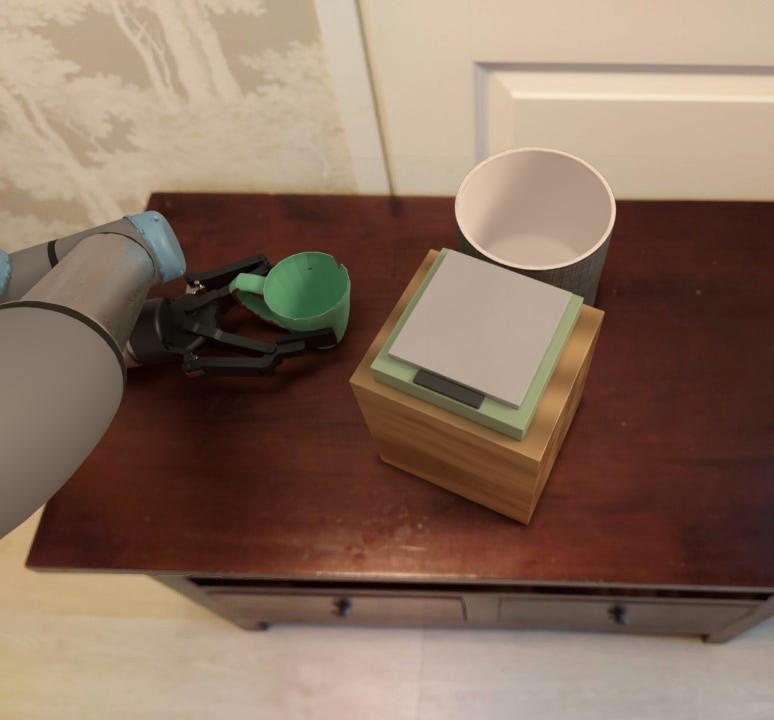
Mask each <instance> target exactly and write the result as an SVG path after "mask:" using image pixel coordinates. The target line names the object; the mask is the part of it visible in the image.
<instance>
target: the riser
mask: <svg viewBox="0 0 774 720" xmlns="http://www.w3.org/2000/svg"><path fill="white" fill-rule="evenodd" d="M440 252H441V251H438V250H435V249H433V248H430V249H429V251H428V253H427V254H426V256H425V257H424V258H423V261H422V262H421V264H420V265H419V267H418V269H417V270H416V272H415V274H414V275H413V277H412V279H410V282H409V283H408V285H407V286H406V287H405V290H404V291H403V293H402V294H401V296H400V298H399V299H398V301H397V302H396V304H395V306H394V307H393V309H392V311H391V312H390V314H389V316H388V317H387V319H386V320H385V322H384V324H383V325H382V327H381V328H380V330H379V331H378V333H377V335H376V336H375V338H374V339H373V342H372V343H371V344H370V346H369V348H368V349H367V351H366V353H365V355H364V356H363V358H362V359H361V361H360V362H359V364H358V366H357V367H356V369H355V370H354V372H353V374H352V376H350V379H349V381H348V383H349V385H350V387H351V390H352V392H353V394H354V397H355V399H356V402H357V404H358V407H359V409H360V411H361V414H362V416H363V418H364V421H365V423H366V426H367V428H368V430H369V433H370V436H371V438H372V440H373V443H374V445H375V447H376V450H377V452H378V454H379V457H380V459H381V462H384V463H386V464H389V465H390V466H393V467H395V468H397V469H400V470H402V471H405V472H406V473H409V474H411V475H413V476H416V477H418V478H420V479H422V480H424V481H427V482H429V483H431V484H433V485H436V486H438V487H440V488H442V489H444V490H447V491H449V492H451V493H454V494H456V495H458V496H460V497H462V498H465V499H467V500H469V501H471V502H473V503H476V504H478V505H481V506H482V507H485V508H487V509H490V510H492V511H494V512H496V513H499V514H501V515H503V516H505V517H508V518H510V519H511V520H514V521H517V522H518V523H521V524H523V525H525V526H528V525H529V523H530V521H531V518H532V516H533V514H534V511H535V509H536V506H537V504H538V502H539V500H540V497H541V494H542V492H543V490H544V488H545V486H546V483H547V482H548V481H547V480H548V478H549V476H550V474H551V471H552V469H553V466H554V464H555V462H556V459H557V457H558V454H559V452H560V450H561V448H562V445H563V443H564V440H565V438H566V435H567V433H568V431H569V429H570V426H571V424H572V421H573V419H574V417H575V415H576V412H577V410H578V408H579V405H580V401H581V398H582V395H583V391H584V387H585V385H586V380H587V377H588V374H589V369H590V367H591V364H592V359H593V355H594V352H595V349H596V345H597V341H598V338H599V335H600V332H601V331H600V330H601V328H602V323H603V320H604V317H605V314H606V313H605V311H604V310H601V309H599V308H596V307H594V306H593V307H590V306H588V305H585V304H582V309H581V313H580V315H579V317H578V319H577V322H576V324H575V326H574V328H573V330H572V333H571V335H570V337H569V339H568V341H567V344H566V346H565V348H564V350H563V352H562V355H561V357H560V359H559V361H558V363H557V366H556V368H555V370H554V372H553V374H552V377H551V379H550V381H549V383H548V385H547V388H546V390H545V392H544V394H543V396H542V399H541V401H540V403H539V405H538V407H537V409H536V412H535V414H534V416H533V418H532V420H531V423H530V425H529V427H528V429H527V431H526V434H525V436H524V438H523V440H522V441H519V440H517V439H515V438H512V437H510V436H507V435H505V434H503V433H500V432H498V431H495V430H493V429H491V428H488V427H486V426H483V425H481V424H479V423H476V422H474V421H471V420H469V419H467V418H464V417H462V416H459V415H457V414H455V413H452V412H450V411H447V410H445V409H443V408H440V407H438V406H436V405H433V404H431V403H428V402H426V401H424V400H421V399H419V398H416V397H414V396H412V395H409V394H407V393H404V392H402V391H400V390H397V389H395V388H392V387H390V386H388V385H385V384H383V383H380V382H378V381H376V380H374V377H373V374H372V372H371V369H370V367H371V365H372V363H373V362H374V360H375V358H376V357H377V355H378V353H379V352H380V350H381V348H382V347H383V345H384V344H385V342H386V340H387V339H388V337H389V335H390V334H391V332H392V330H393V329H394V327H395V325H396V324H397V322H398V321H399V319H400V317H401V316H402V314H403V312H404V311H405V309H406V307H407V306H408V304H409V302H410V301H411V299H412V298H413V296H414V294H415V293H416V291H417V289H418V288H419V286H420V284H421V283H422V281H423V279H424V278H425V276H426V275H427V273H428V271H429V270H430V268H431V266H432V265H433V263H434V261H435V260H436V258H437V256H438V255H439V253H440Z"/></svg>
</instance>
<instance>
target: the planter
mask: <svg viewBox="0 0 774 720" xmlns="http://www.w3.org/2000/svg"><path fill="white" fill-rule="evenodd" d="M454 198H455V199H454V219H455V231H456V245H457V252H459V253H462V254H465V255H468V256H471V257H473V258H476V259H479V260H482V261H484V262H487V263H490V264H493V265H496V266H498V267H501V268H504V269H507V270H510V271H512V272H515V273H518V274H521V275H523V276H526V277H529V278H532V279H535V280H537V281H540V282H543V283H546V284H549V285H551V286H554V287H557V288H560V289H562V290H565V291H568V292H571V293H572V294H574V295H577V296H580V297H583V298H584V300H583V304H585V305H588V306H590V307H593V308H594V305H595V302H596V297H597V292H598V287H599V284H600V280H601V276H602V273H603V269H604V265H605V261H606V259H607V253H608V249H609V246H610V242H611V239H612V236H613V235H612V234H613V230H614V227H615V222H616V217H617V204H616V203H617V202H616V199H615V195H614V192H613V190H612V188H611V186H610V184H609V183H608V181H607V180H606V178H605V177H604V176H603V175H602V174H601V172H599V171H598V169H596V168H595V167H594V166H593V165H591V164H590V163H589V162H587V161H586V160H584V159H582V158H580V157H578V156H576V155H574V154H571V153H569V152H566V151H562V150H559V149H554V148H548V147H539V146H528V147H527V146H526V147H518V148H511V149H507V150H504V151H501V152H497V153H496V154H493V155H491V156H489V157H487V158H485V159H484V160H482V161H480V162H479V163H477V164H476V165H475V166H473V167H472V169H470V171H468V172H467V174H466V175H465V176H464V177H463V179H462V180H461V182H460V184H459V186H458V188H457V190H456V195H455V197H454Z"/></svg>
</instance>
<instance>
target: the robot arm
mask: <svg viewBox="0 0 774 720" xmlns="http://www.w3.org/2000/svg"><path fill="white" fill-rule="evenodd" d="M276 265H277V264H272V263H271V262H270V261H269V260H268V257H267V256H266V254H265V253H263V252H260V253H257V254H254V255H250V256H248V257H244V258H241V259H238V260H235V261H233V262H230V263H227V264H224V265H221V266H218V267H215V268H212V269H209V270H205V271H202V272H199V271H198V272H188V273H186V270H187V264H186V259H185V255H184V252H183V250H182V247H181V244H180V242H179V239H178V237H177V236H176V234H175V232H174V230H173V228H172V226H171V225H170V223H169V221H168V220H167V219H166V218H165V216H163V214H162V213H160V212H158V211H155V210H146V211H143V212H140V213H136V214H133V215H129V214H127V215H124V216H122V218H119V219H116V220H113V221H110V222H107V223H103V224H101V225H98V226H95V227H92V228H88V229H86V230H83V231H82V230H81V231H79V232H77V233H74V234H73V233H72V234H71V235H67V236H64V237H62V238H61V237H60V238H56V239H52V240H48V241H46V242H42V243H39V244H37V245H36V244H35V245H33V246H30V247H27V248H23V249H20V250H16V251H14V252H11V253H7V252H6V251H5V250H3V249H2V248H0V541H1V540H2V539H3V538H6V536H8V535H9V534H11V533H12V532H13V531H14V530H16V529H17V528H18V527H19V526H21V525H23V523H25V522H26V521H27V520H29V518H31V517H32V516H33V515H34V514H35V513H36V512H37V511H39V509H41V508H42V507H43V506H44V505H46V503H48V502H49V501H50V500H51V499H52V497H54V496H55V495H56V494H57V492H59V490H60V489H61V488H62V487H63V486H64V485H65V484H66V483H67V482H68V481H69V480H70V479H71V477H73V475H74V474H75V473H76V472H77V470H78V469H79V468H80V467H81V465H82V464H83V463H84V462H85V461H86V459H87V458H88V457H89V456H90V455H91V453H92V452H93V451H94V450H95V448H96V446H97V445H98V444H99V442H100V441H101V440H102V438H103V437H104V435H105V433H106V432H107V431H108V429H109V427H110V425H111V424H112V421H113V419H115V416H116V414H117V412H118V410H119V407H120V405H121V401H122V399H123V397H124V394H125V391H126V387H127V386H126V385H127V381H128V379H127V378H128V377H127V376H128V369H132V368H133V369H134V368H138V367H142V366H143V365H146V366H152V365H158V364H164V363H165V364H166V363H170V362H175V361H177V360H179V359H183V362H182V363H181V365H180V368H181V370H182V371H183V372H184V374H185V375H186V376H187V377H188V378H189V379H190V380H191V381H192V382H193V381H198V380H203V379H205V378H209V377H224V378H225V377H227V378H229V377H230V378H231V377H232V378H273V377H275V376H276V374H277V370H276V369H277V367H279V366H281V365H283V363H284V360H288V359H293V358H299V357H305V356H306V355H308V354H309V350H313V349H314V350H315V349H318V348H320V347H326V346H332V345H335V346H337V345H338V344H339V343H338V342H337V337H336V335H335V332H334V330H333V327H329V328H323V329H318V330H314V331H305V332H300V333H294V334H293V333H289V334H282V335H276V336H275V337H274V342H275V344H274V343H271V342H267V341H263V340H259V339H256V338H251V337H247V336H243V335H238V334H234V333H230V332H227V331H223V330H222V327H221V324H222V321H223V316H224V315H226V314H228V313H229V312H230V309H231V308H233V307H234V306H236V305H239V304H238V303H237V302H236V300H235V299H234V298H233V296H232V295H231V293H230V290H229V288H230V284H231V282H232V281H233V280H234V279H235V278H236V277H237V276H238V275H239V274H240V273H245V274H253V275H258V276H263V277H267V275H268V274H269V272H270V271H271V269H272V268H274V267H275V266H276ZM308 269H310V270H311V269H312V268H308ZM185 273H186V274H185ZM184 274H185V275H184ZM183 275H184V276H183ZM182 276H183V279H184V281H185V282H186V289H185V293H183V294H181V295H180V296H178V297H175V298H167V297H155V298H149V299H148V295H149V293H150V290H151V289H152V288H154V287H156V286H159V285H160V286H163V285H166V284H167V283H168V282H170V281H173V280H175V279H178V278H180V277H182ZM248 293H252V292H248ZM252 294H254V295H255V294H256V293H252ZM200 295H201V296H200ZM215 302H216V303H217V305H216V304H215ZM208 349H209V350H213V351H218V352H221V353H225V352H228V353H232V354H237V355H239V356H244V357H239V356H238V357H237V356H236V357H234V356H233V357H231V356H200V355H201V354H203V353H204V352H205V351H206V350H208Z"/></svg>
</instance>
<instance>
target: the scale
mask: <svg viewBox="0 0 774 720" xmlns="http://www.w3.org/2000/svg"><path fill="white" fill-rule="evenodd" d="M439 252H440V253H439V255H438V256H437V258H436V260H435V261H434V263H433V265H432V266H431V268H430V270H429V271H428V273H427V275H426V276H425V278H424V279H423V281H422V283H421V284H420V286H419V288H418V289H417V291H416V293H415V294H414V296H413V298H412V299H411V301H410V302H409V304H408V306H407V307H406V309H405V311H404V312H403V314H402V316H401V317H400V319H399V321H398V322H397V324H396V325H395V327H394V329H393V330H392V332H391V334H390V335H389V337H388V339H387V340H386V342H385V344H384V345H383V347H382V348H381V350H380V352H379V353H378V355H377V357H376V358H375V360H374V362H373V363H372V365H371V367H370V369H371V372H372V374H373V377H374V380H376V381H378V382H380V383H383V384H385V385H388V386H390V387H392V388H395V389H397V390H400V391H402V392H404V393H407V394H409V395H412V396H414V397H416V398H419V399H421V400H424V401H426V402H428V403H431V404H433V405H436V406H438V407H440V408H443V409H445V410H447V411H450V412H452V413H455V414H457V415H459V416H462V417H464V418H467V419H469V420H471V421H474V422H476V423H479V424H481V425H483V426H486V427H488V428H491V429H493V430H495V431H498V432H500V433H503V434H505V435H507V436H510V437H512V438H515V439H517V440H519V441H522V440H523V438H524V436H525V434H526V431H527V429H528V427H529V425H530V423H531V420H532V418H533V416H534V414H535V412H536V409H537V407H538V405H539V403H540V401H541V399H542V396H543V394H544V392H545V390H546V388H547V385H548V383H549V381H550V379H551V377H552V374H553V372H554V370H555V368H556V366H557V363H558V361H559V359H560V357H561V355H562V352H563V350H564V348H565V346H566V344H567V341H568V339H569V337H570V335H571V333H572V330H573V328H574V326H575V324H576V322H577V319H578V317H579V315H580V313H581V309H582V304H583V300H584V298H583V297H580V296H577V295H574V294H572V293H571V292H568V291H565V290H562V289H560V288H557V287H554V286H551V285H549V284H546V283H543V282H540V281H537V280H535V279H532V278H529V277H526V276H523V275H521V274H518V273H515V272H512V271H510V270H507V269H504V268H501V267H498V266H496V265H493V264H490V263H487V262H484V261H482V260H479V259H476V258H473V257H471V256H468V255H465V254H462V253H459V252H458V250H457V251H456V250H453V249H451V248H447V247H442V248H441V250H440V251H439Z"/></svg>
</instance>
